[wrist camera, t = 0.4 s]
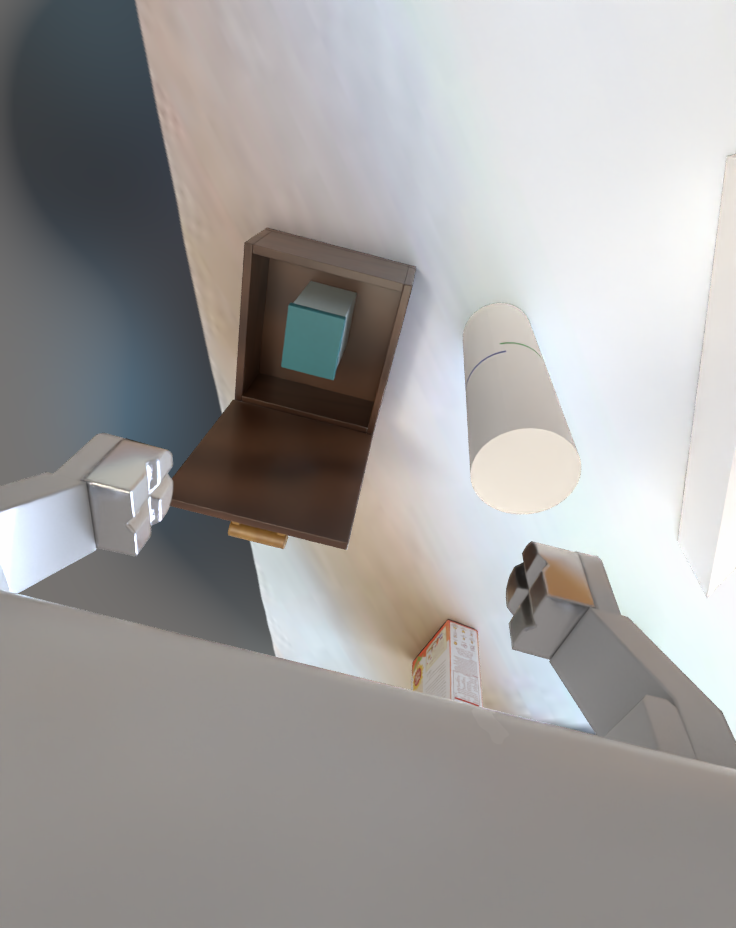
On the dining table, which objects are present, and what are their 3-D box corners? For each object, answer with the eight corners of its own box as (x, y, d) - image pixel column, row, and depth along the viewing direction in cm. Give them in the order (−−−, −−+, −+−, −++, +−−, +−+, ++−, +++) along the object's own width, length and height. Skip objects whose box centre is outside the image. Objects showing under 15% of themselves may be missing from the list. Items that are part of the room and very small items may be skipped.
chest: (266, 227, 51) (244, 242, 45) (416, 266, 51) (412, 286, 45) (254, 373, 60) (234, 400, 55) (379, 405, 61) (373, 435, 55)
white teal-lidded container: (309, 278, 52) (288, 304, 45) (358, 291, 52) (345, 319, 45) (301, 335, 56) (280, 367, 49) (347, 347, 56) (333, 380, 49)
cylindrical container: (453, 318, 53) (455, 447, 33) (520, 291, 51) (567, 413, 31) (474, 375, 57) (488, 524, 37) (538, 353, 54) (591, 499, 34)
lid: (157, 495, 40) (158, 537, 42) (348, 543, 40) (338, 581, 43) (233, 399, 54) (230, 434, 57) (373, 434, 55) (364, 468, 57)
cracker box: (441, 671, 90) (440, 802, 73) (411, 660, 90) (402, 789, 73) (481, 630, 82) (489, 765, 65) (448, 617, 82) (448, 751, 65)
